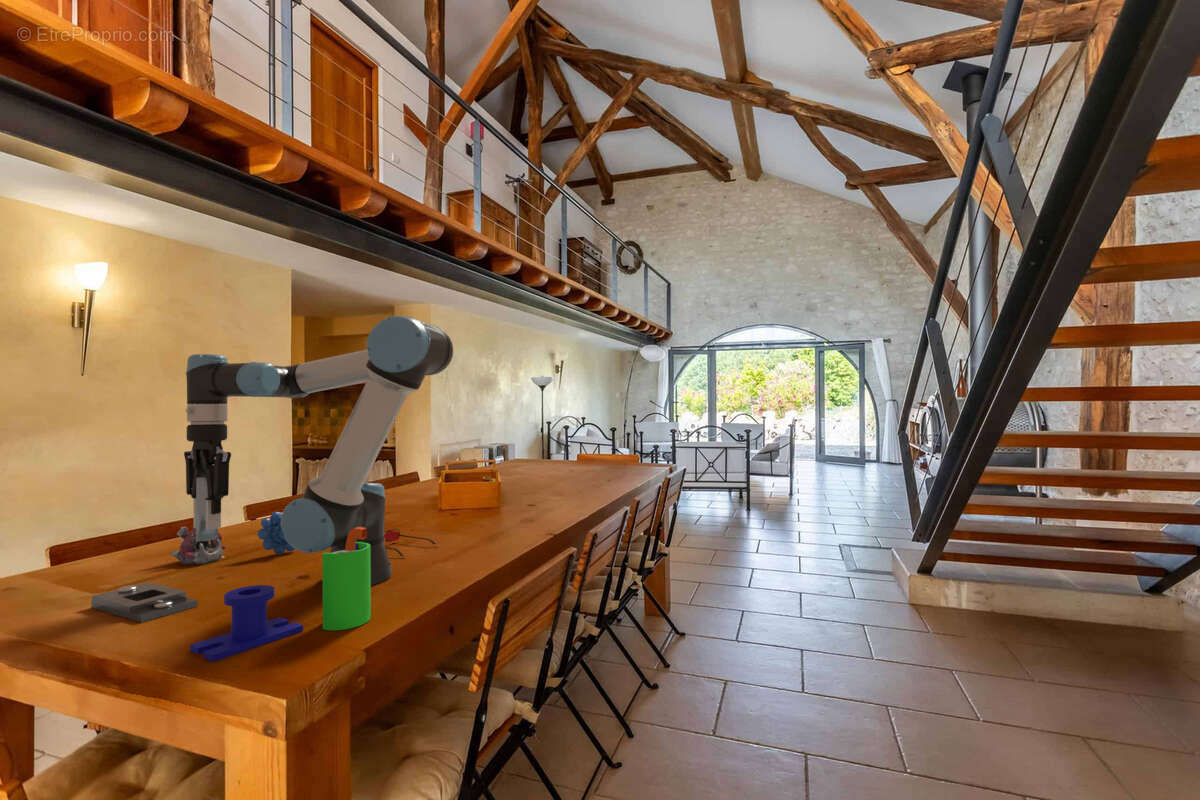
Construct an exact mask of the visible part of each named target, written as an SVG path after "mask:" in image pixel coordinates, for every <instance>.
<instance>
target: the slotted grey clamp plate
mask: <svg viewBox="0 0 1200 800" xmlns="http://www.w3.org/2000/svg"><path fill="white" fill-rule="evenodd" d="M198 600H199V599H193V598H189V597H187V591H185V590H181V589H177V588H173V587H170V586H165V585H161V584H157V583H153V582H149V581H147V582H145V583H140V584H136V585H135V584H134V585H133V584H131V585H126V586H121V587H119V588H118V589H115V590H110V591H107V592H103V593H98V594H94V595H91V608H92V607H93V608H92V609H94V608H96V609H95V610H97V609H99V610H98V611H100V610H102V611H101V612H104V613H107V612H108V613H107V614H111V615H113V616H118V617H120V616H121V617H120V618H123V617H125V618H124V619H127V618H128V619H127V620H130V619H131V620H130V621H133V620H135V621H134V622H136V621H138V622H137V623H140V622H142V623H145V622H144V621H146V622H148V620H149V621H152V620H155V618H156V619H158V617H159V618H162V617H161V616H163V617H165V616H169V615H172V614H173V615H174V614H175V613H179V612H182V611H186V610H189V609H192V608H193V609H194V608H196V607H198V606H199V604H198V602H199V601H198ZM151 619H152V620H151Z"/></svg>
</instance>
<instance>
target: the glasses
mask: <svg viewBox="0 0 1200 800" xmlns="http://www.w3.org/2000/svg"><path fill="white" fill-rule="evenodd" d="M395 530H396V531H395ZM400 537H404V538H411V539H420V540H425V541H426V540H427V541H429V542H430V543H432V544H433V545H434V544H436V542H435V541H433V540H432V539H429V538H424V537H420V536H418V537H417V536H412V535H411V536H410V535H404V534H401V533H400V530H399V529H398V528H392V529H387V530H384V541H385V542H386V543H389V542H392V541H395V540H397V541H398V540H399V539H400ZM385 548H386V550H387V549H388V550H392V551H393V550H394V551H396V552H397V554H399V555H400V557H401V556H404V555H403V553H402V552H401V551H400V550H398V549H397V548H392V547H388V546H385Z"/></svg>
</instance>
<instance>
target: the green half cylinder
mask: <svg viewBox="0 0 1200 800" xmlns="http://www.w3.org/2000/svg"><path fill="white" fill-rule="evenodd" d="M364 538H366V528H364V527H356V528H354V529H351V530H350V532H349V534H348V537H347V541H346V548H345V550H343V551H337V552H333V553H330V552H322V559H321V560H322V563H321V564H322V568H321V569H322V630H325V631H343V630H349V629H350V630H351V629H353V628H357V627H360V626H362V625H365V624H366V623H368V622H369V621H370V620H371V618H372V617H371V615H372V614H371V613H372V611H371V610H372V609H371V608H372V607H371V606H372V605H371V603H372V602H371V598H372V597H371V595H372V594H371V593H372V592H371V591H372V590H371V589H372V588H371V587H372V585H371V567H370V544H368V543H364V542H356V539H364Z"/></svg>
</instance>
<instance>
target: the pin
mask: <svg viewBox="0 0 1200 800" xmlns="http://www.w3.org/2000/svg"><path fill="white" fill-rule="evenodd" d="M208 497H209V495H208V487H207V478H206V476H202V477H196V531H195V532H196V541H209V542H210V540H215V539H218V532H219V528H215V529H210V530H206V499H205V498H208Z"/></svg>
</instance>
